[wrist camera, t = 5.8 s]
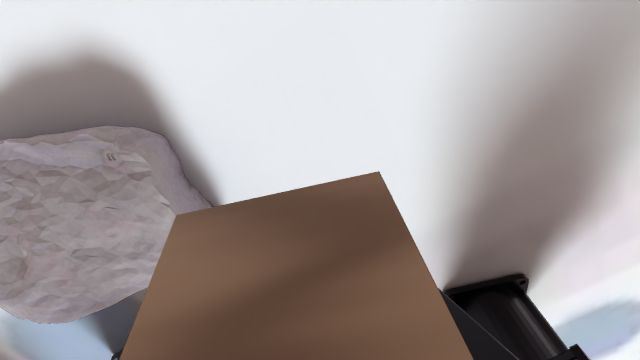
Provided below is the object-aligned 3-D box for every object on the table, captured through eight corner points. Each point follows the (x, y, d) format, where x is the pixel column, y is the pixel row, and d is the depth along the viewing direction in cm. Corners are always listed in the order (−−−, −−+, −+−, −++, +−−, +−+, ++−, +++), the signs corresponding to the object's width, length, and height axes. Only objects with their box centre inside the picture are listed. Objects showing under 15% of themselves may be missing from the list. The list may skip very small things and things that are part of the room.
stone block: (-39, 156, 19) (68, 294, 22) (-142, 188, 14) (12, 354, 18) (161, 82, 18) (237, 235, 22) (119, 91, 14) (224, 282, 17)
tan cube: (379, 171, 8) (487, 387, 4) (392, 301, 11) (465, 512, 7) (176, 214, 8) (73, 475, 4) (240, 334, 11) (217, 565, 7)
